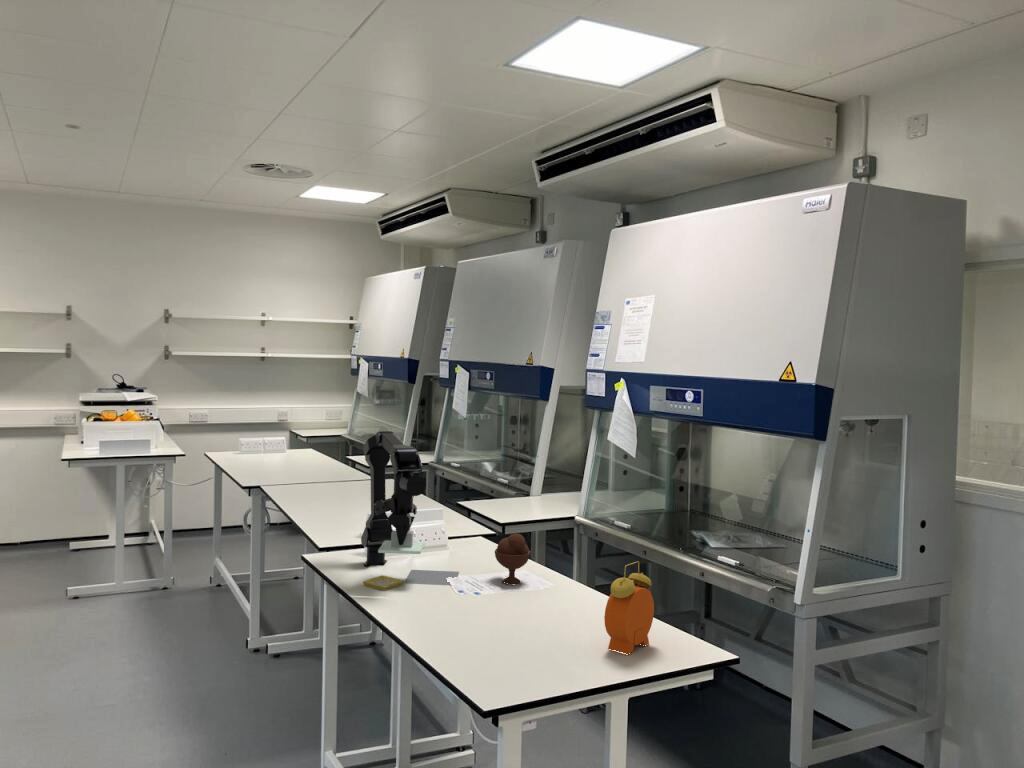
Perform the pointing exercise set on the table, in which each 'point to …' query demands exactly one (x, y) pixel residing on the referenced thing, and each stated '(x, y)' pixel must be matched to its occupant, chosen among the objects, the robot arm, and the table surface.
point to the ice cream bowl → (512, 555)
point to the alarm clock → (629, 612)
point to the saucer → (384, 578)
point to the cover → (406, 548)
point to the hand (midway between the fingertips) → (401, 543)
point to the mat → (430, 577)
